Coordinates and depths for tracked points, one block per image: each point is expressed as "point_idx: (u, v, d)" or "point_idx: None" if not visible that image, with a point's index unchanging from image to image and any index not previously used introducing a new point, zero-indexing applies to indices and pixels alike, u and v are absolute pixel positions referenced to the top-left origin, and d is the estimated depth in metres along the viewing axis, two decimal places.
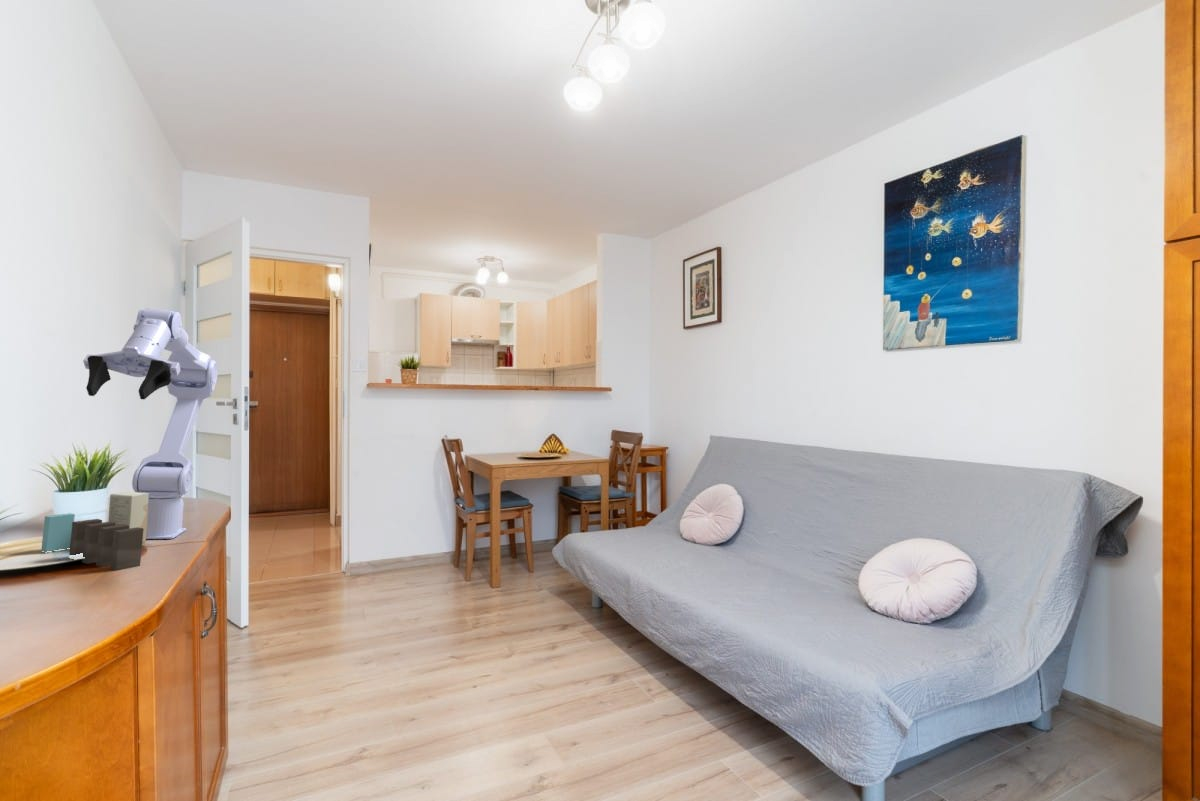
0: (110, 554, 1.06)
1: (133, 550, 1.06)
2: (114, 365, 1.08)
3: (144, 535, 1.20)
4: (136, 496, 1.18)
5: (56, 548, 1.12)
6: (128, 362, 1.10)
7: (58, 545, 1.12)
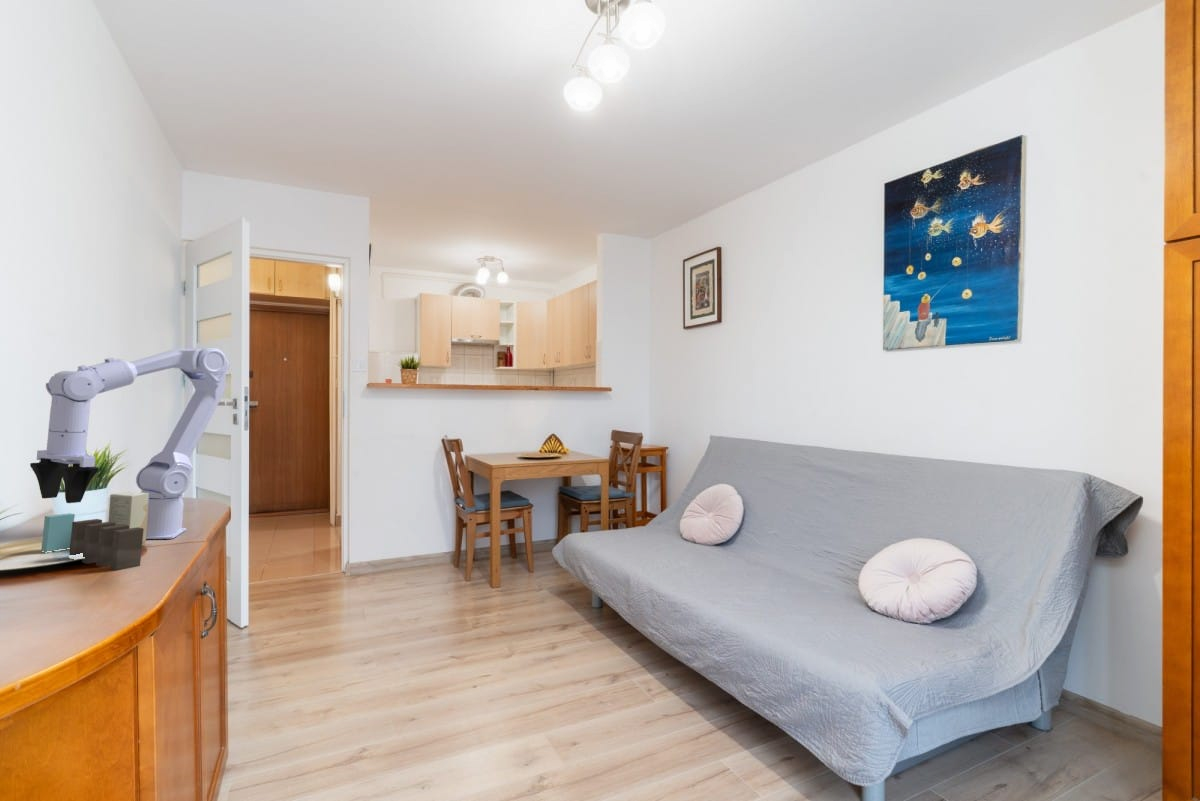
0: (110, 554, 1.06)
1: (133, 550, 1.06)
2: (54, 461, 1.14)
3: (144, 535, 1.20)
4: (136, 496, 1.18)
5: (56, 548, 1.12)
6: None
7: (58, 545, 1.12)
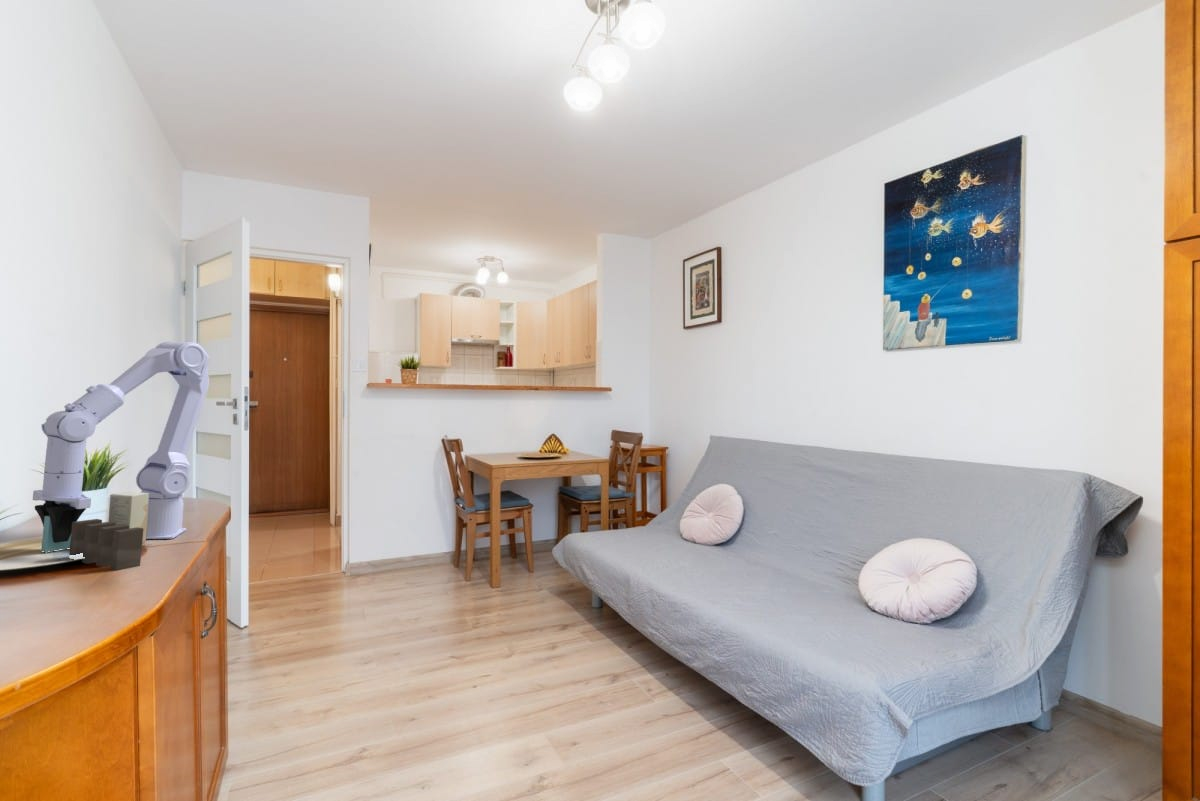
0: (110, 554, 1.06)
1: (133, 550, 1.06)
2: (50, 501, 1.13)
3: (144, 535, 1.20)
4: (136, 496, 1.18)
5: (56, 548, 1.12)
6: None
7: (58, 545, 1.12)
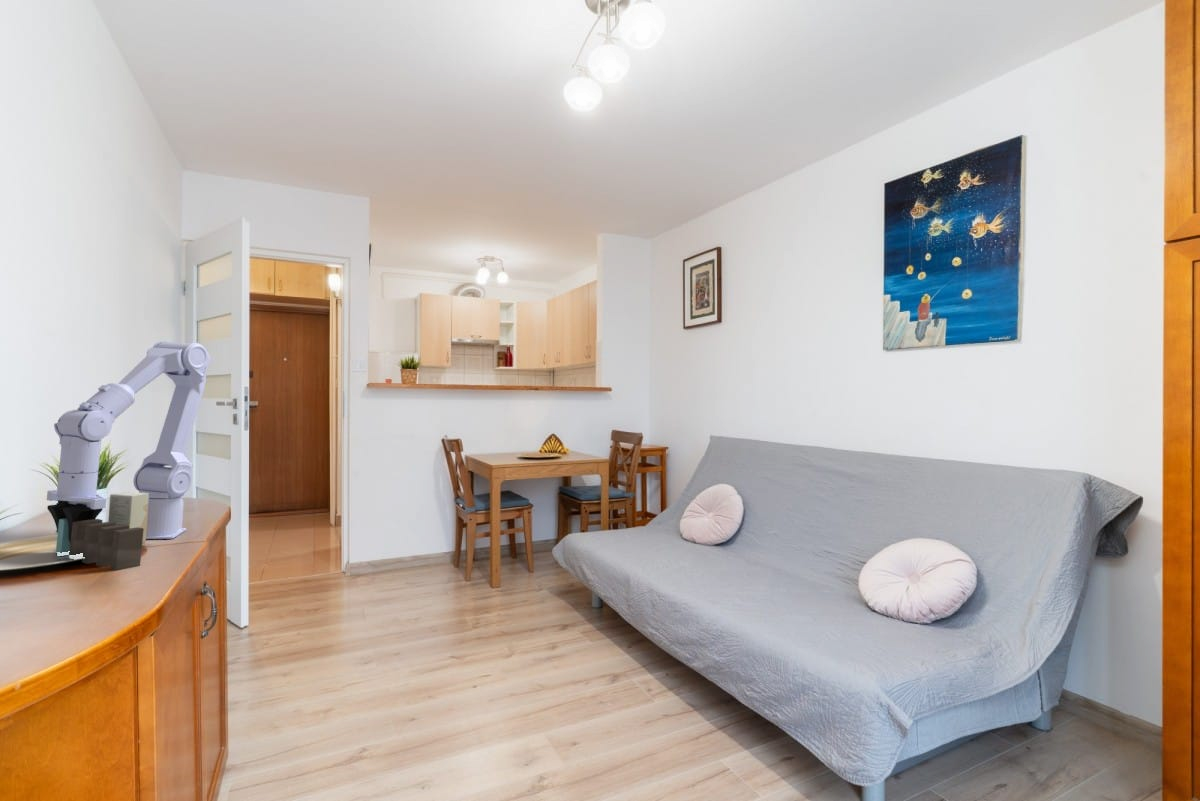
0: (110, 554, 1.06)
1: (133, 550, 1.06)
2: None
3: (144, 535, 1.20)
4: (136, 496, 1.18)
5: None
6: None
7: None
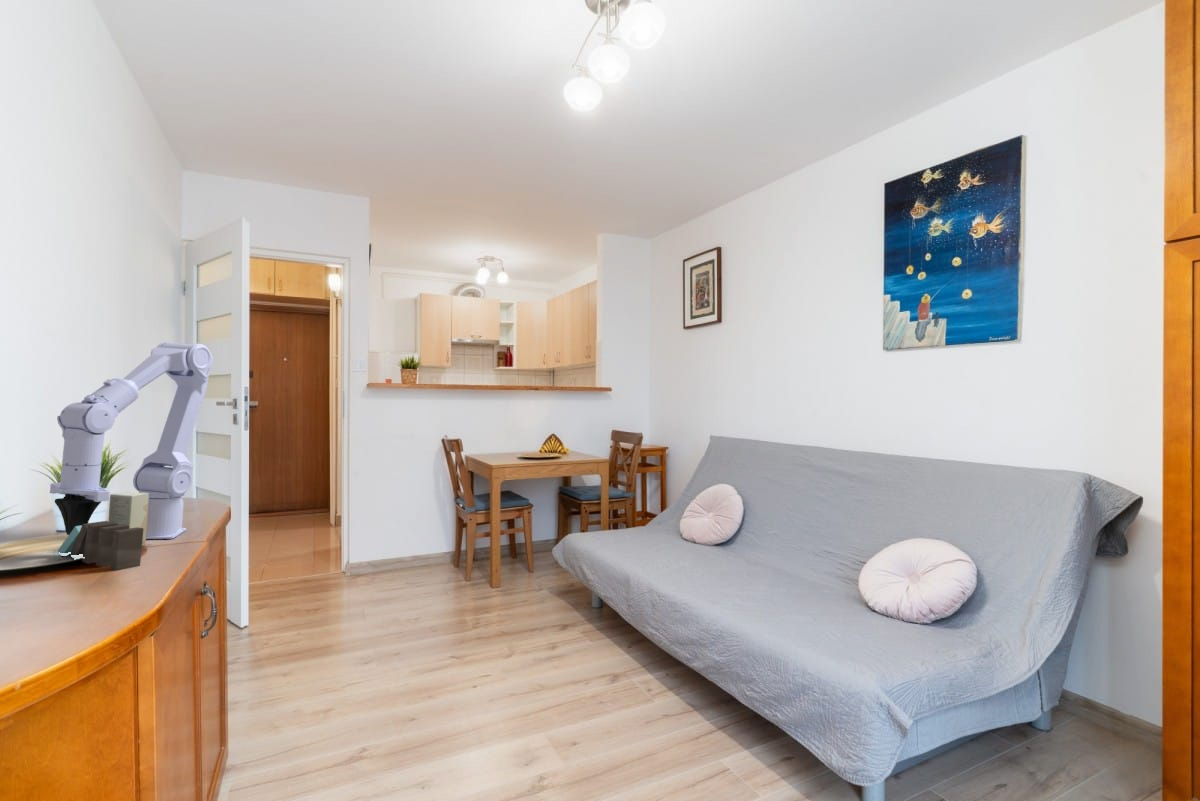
0: (110, 554, 1.06)
1: (133, 550, 1.06)
2: None
3: (144, 535, 1.20)
4: (136, 496, 1.18)
5: None
6: None
7: None
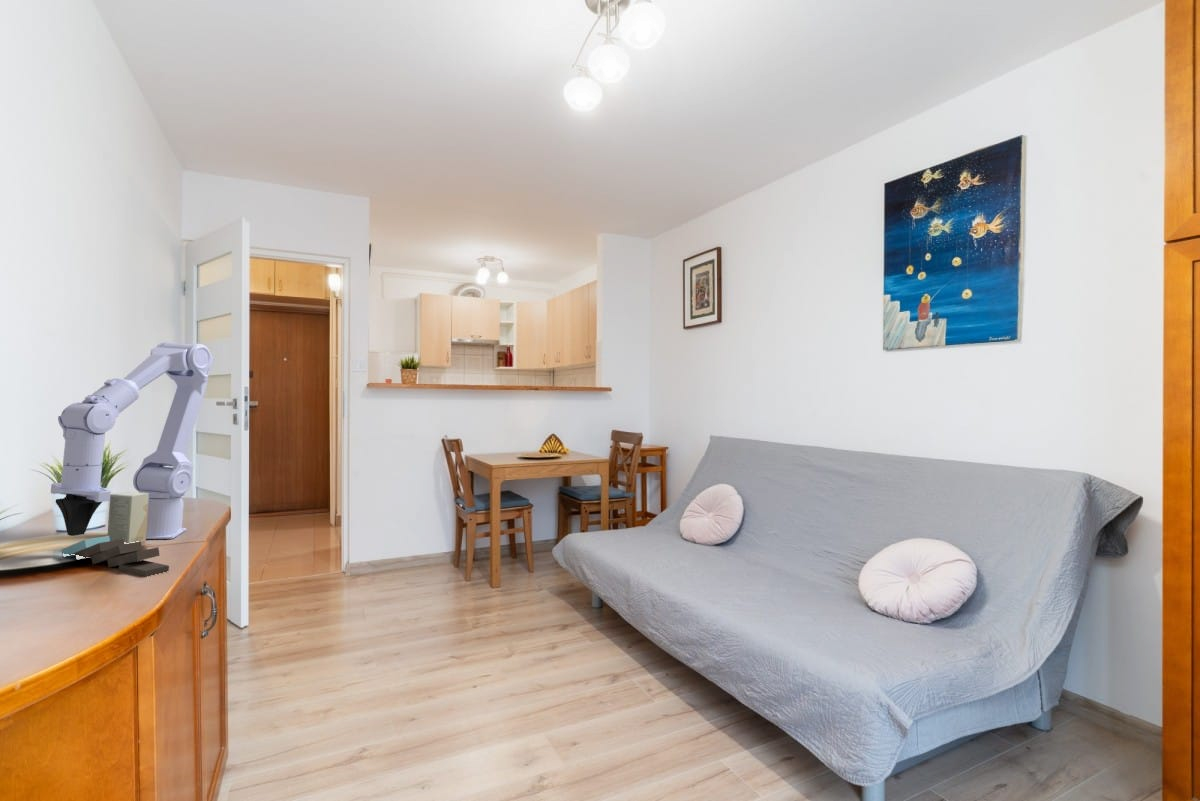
0: None
1: None
2: None
3: (144, 535, 1.20)
4: (136, 496, 1.18)
5: None
6: None
7: None
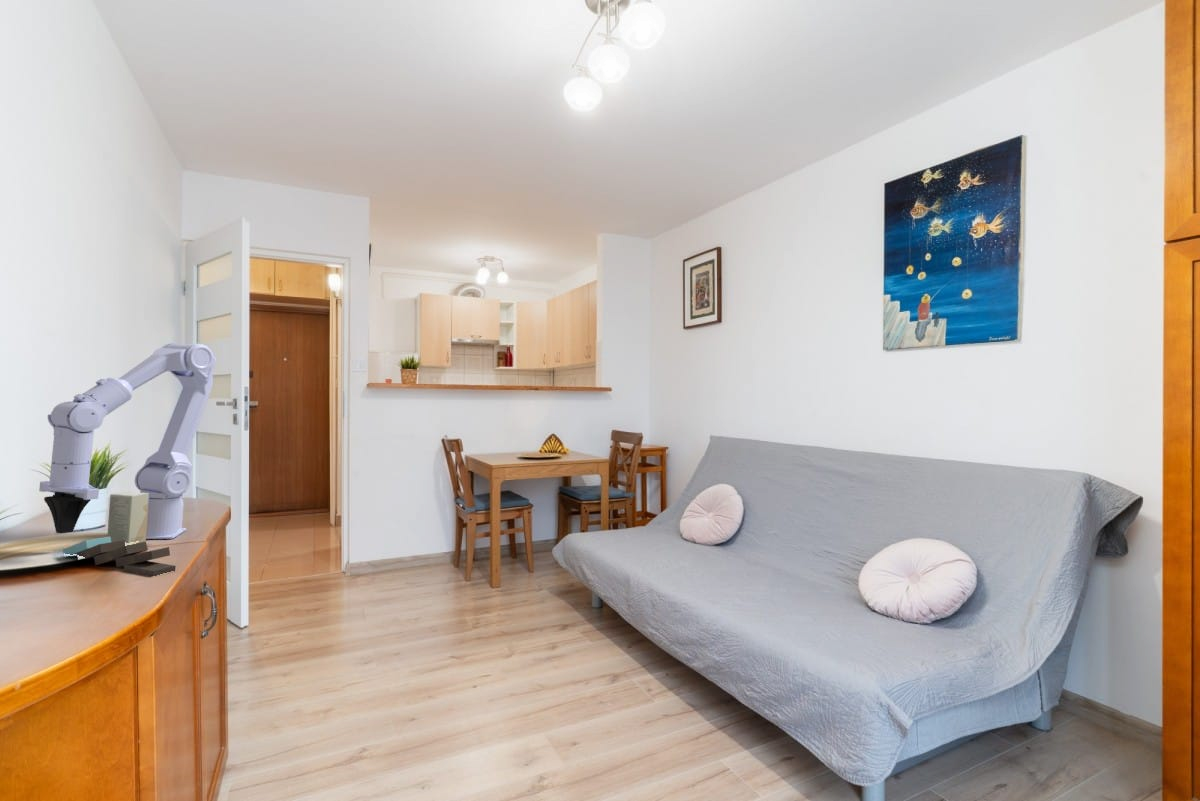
0: None
1: None
2: None
3: (144, 535, 1.20)
4: (136, 496, 1.18)
5: None
6: None
7: None
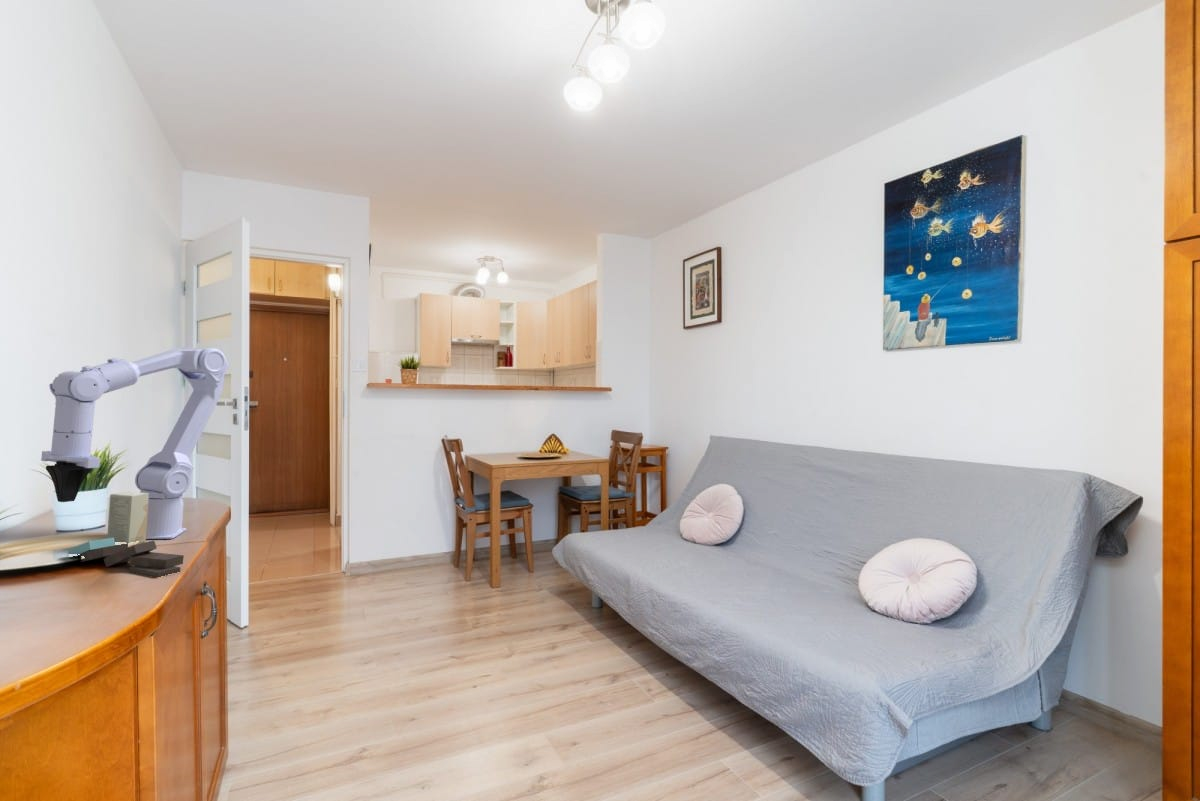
0: None
1: None
2: None
3: (144, 535, 1.20)
4: (136, 496, 1.18)
5: None
6: None
7: None
